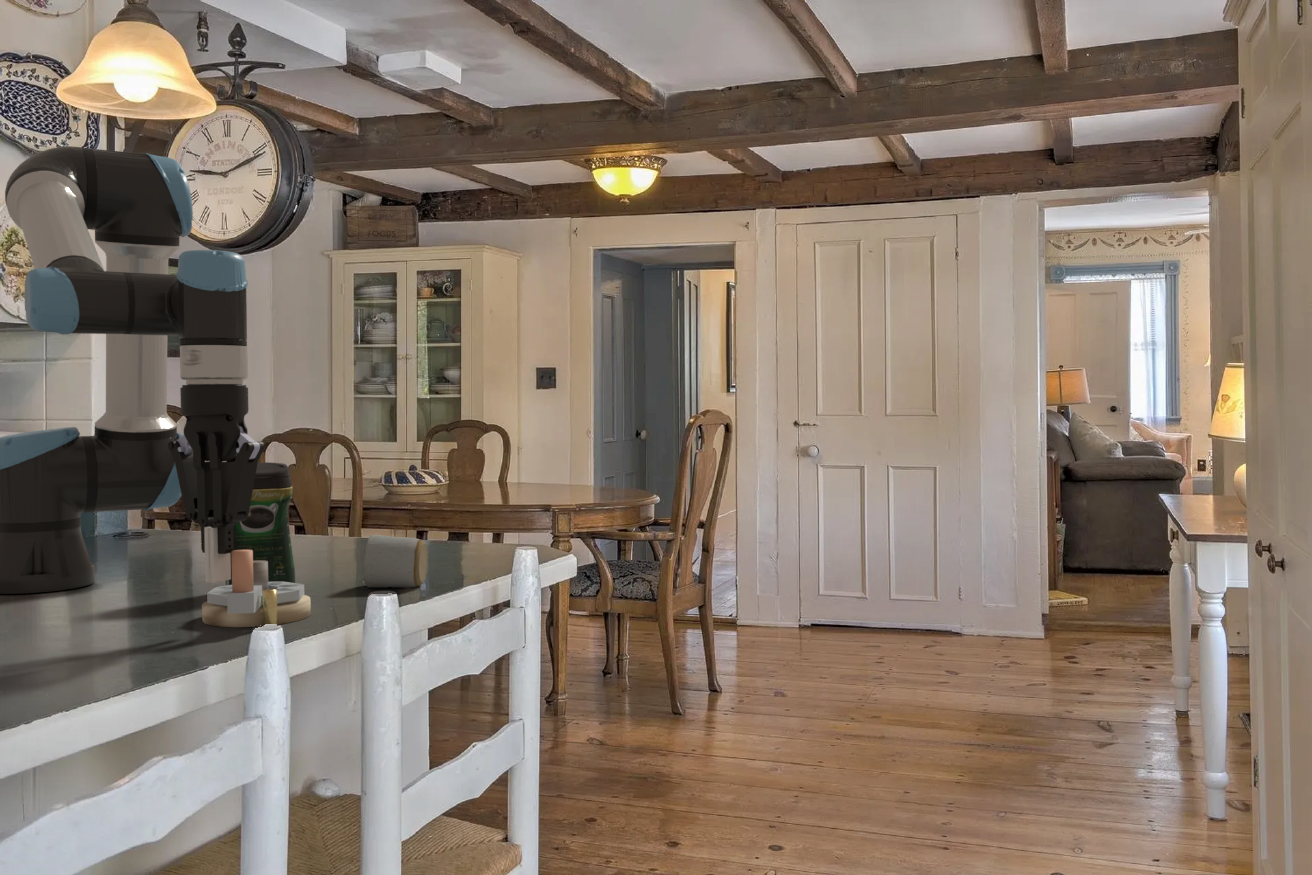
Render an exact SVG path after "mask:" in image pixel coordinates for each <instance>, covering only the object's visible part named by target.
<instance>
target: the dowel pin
mask: <svg viewBox="0 0 1312 875" xmlns="http://www.w3.org/2000/svg"><path fill="white" fill-rule="evenodd" d="M263 622H264V625H265V624H277V589H265V590H263ZM277 625H278V624H277Z"/></svg>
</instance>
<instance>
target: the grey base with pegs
mask: <svg viewBox="0 0 1312 875" xmlns="http://www.w3.org/2000/svg"><path fill="white" fill-rule="evenodd" d="M231 557H232V585H227V586H225V585H221V586H216V587H214V588H212V589H211V590H210V591H208V592H206V596H207V597H206V598H207V600H206V601H207V603H211V604H217V605H223V606H227V610H228V614H238V613H255V612H256V611H257V610H258V609H259V608H260V607H261V606H262V605H263V592H262V585H254V586H253V550H234V551H231ZM268 589H277V604H278V603H284V602H289V601H295V600H300V598H301V597H302V596H303V595H306V594H305V584H303V583H297V582H295V583H290V582H283V581H278V582H268Z"/></svg>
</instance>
